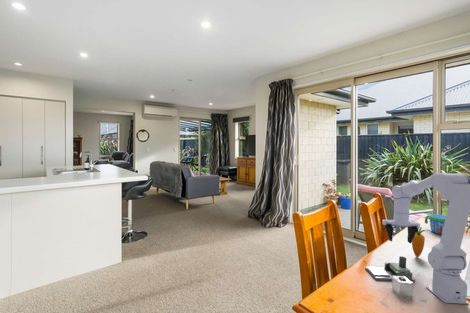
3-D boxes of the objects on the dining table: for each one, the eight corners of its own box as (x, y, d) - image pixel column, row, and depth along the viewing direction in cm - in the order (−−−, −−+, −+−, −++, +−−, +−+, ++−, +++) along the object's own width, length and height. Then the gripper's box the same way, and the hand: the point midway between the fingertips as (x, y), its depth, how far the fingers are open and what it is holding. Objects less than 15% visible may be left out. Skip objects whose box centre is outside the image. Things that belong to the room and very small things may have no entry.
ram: (410, 275, 99) (410, 261, 99) (397, 274, 99) (398, 260, 99) (400, 267, 105) (401, 254, 105) (389, 267, 105) (390, 254, 105)
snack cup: (419, 228, 161) (420, 213, 160) (432, 227, 163) (433, 212, 162) (444, 237, 145) (446, 220, 145) (458, 236, 148) (459, 219, 147)
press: (415, 282, 98) (415, 273, 97) (375, 280, 98) (376, 272, 98) (400, 270, 107) (401, 262, 107) (365, 268, 108) (365, 261, 107)
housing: (412, 296, 88) (412, 282, 88) (399, 295, 89) (399, 281, 88) (404, 289, 93) (404, 275, 93) (391, 288, 93) (392, 275, 93)
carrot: (418, 255, 122) (419, 225, 121) (426, 259, 117) (428, 228, 116) (408, 255, 122) (409, 225, 121) (415, 259, 117) (417, 228, 116)
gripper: (415, 211, 115) (414, 239, 115) (380, 208, 118) (379, 236, 119) (423, 215, 108) (421, 245, 109) (385, 212, 111) (384, 242, 112)
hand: (399, 241), depth 113 cm, fingers open, 7 cm apart
